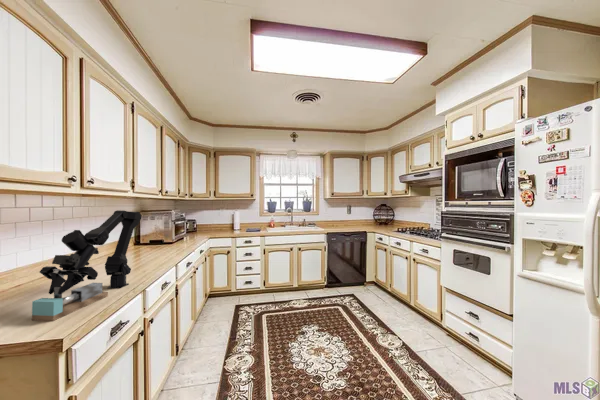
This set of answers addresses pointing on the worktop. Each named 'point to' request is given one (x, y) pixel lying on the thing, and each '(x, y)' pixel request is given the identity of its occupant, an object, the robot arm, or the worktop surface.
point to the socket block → (47, 306)
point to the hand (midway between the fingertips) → (54, 293)
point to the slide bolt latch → (78, 301)
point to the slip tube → (67, 298)
